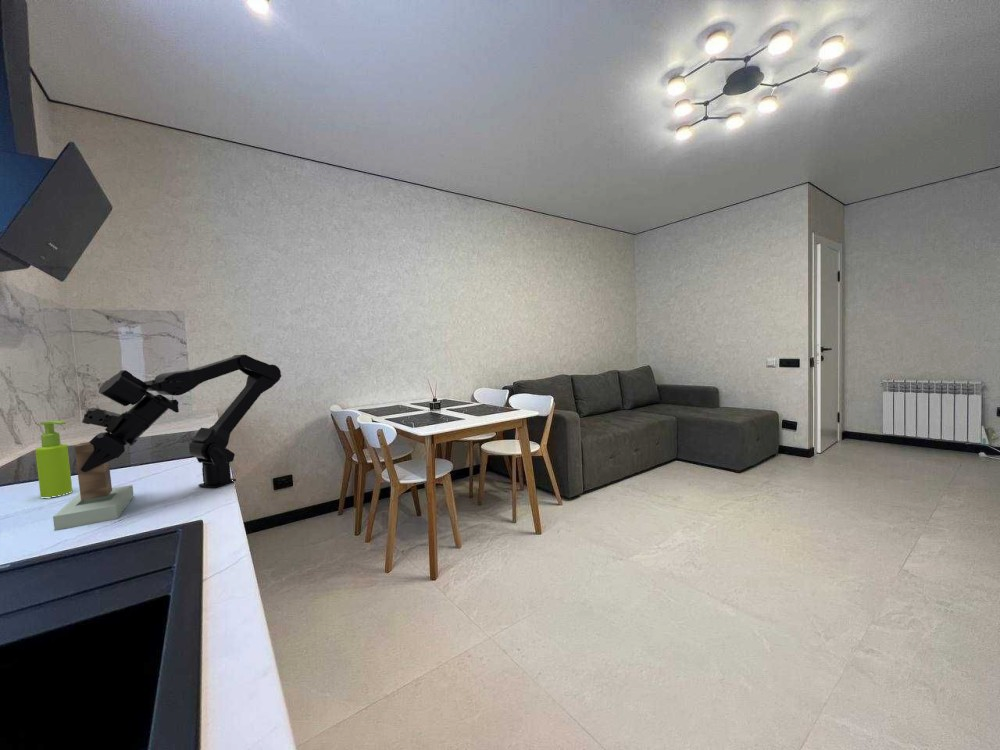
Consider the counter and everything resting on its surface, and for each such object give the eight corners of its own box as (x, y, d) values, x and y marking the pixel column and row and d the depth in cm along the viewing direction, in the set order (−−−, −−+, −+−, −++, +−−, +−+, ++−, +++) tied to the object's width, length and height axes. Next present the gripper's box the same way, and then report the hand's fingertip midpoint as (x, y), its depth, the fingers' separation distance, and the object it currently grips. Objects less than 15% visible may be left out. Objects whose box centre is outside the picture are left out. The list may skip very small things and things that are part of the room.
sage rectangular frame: (80, 505, 104) (79, 493, 103) (133, 496, 109) (132, 484, 109) (54, 530, 88) (53, 516, 88) (117, 518, 94) (116, 505, 94)
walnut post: (112, 490, 102) (106, 439, 101) (107, 495, 98) (101, 443, 97) (86, 494, 99) (80, 443, 98) (81, 500, 95) (74, 446, 95)
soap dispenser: (59, 498, 110) (51, 422, 108) (34, 499, 110) (25, 423, 108) (82, 490, 115) (74, 418, 114) (58, 491, 116) (50, 419, 114)
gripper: (117, 392, 107) (62, 441, 102) (98, 398, 91) (31, 457, 86) (160, 418, 112) (109, 467, 107) (148, 428, 96) (87, 486, 91)
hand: (85, 468), depth 97 cm, fingers closed on walnut post, 4 cm apart
